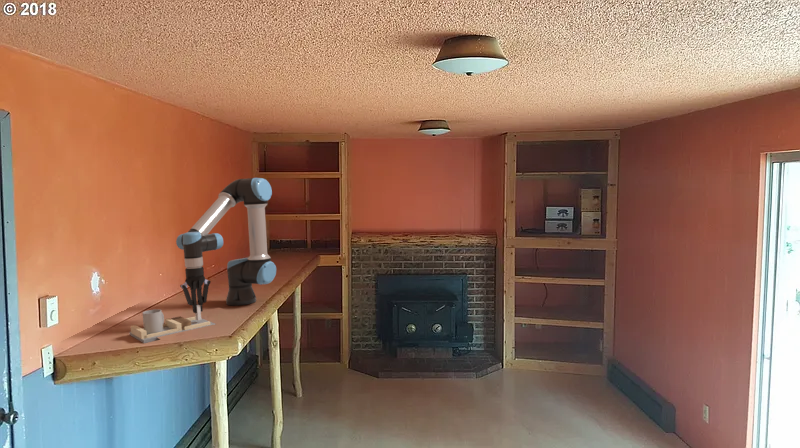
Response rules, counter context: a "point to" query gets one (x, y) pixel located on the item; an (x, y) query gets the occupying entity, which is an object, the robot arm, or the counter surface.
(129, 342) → the counter surface
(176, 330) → the jig
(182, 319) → the brown rounded bar
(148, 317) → the cup
